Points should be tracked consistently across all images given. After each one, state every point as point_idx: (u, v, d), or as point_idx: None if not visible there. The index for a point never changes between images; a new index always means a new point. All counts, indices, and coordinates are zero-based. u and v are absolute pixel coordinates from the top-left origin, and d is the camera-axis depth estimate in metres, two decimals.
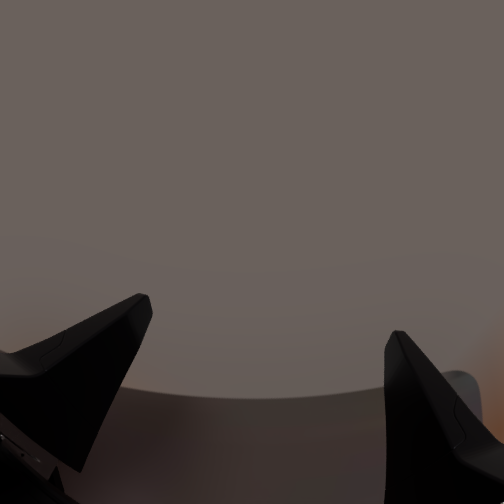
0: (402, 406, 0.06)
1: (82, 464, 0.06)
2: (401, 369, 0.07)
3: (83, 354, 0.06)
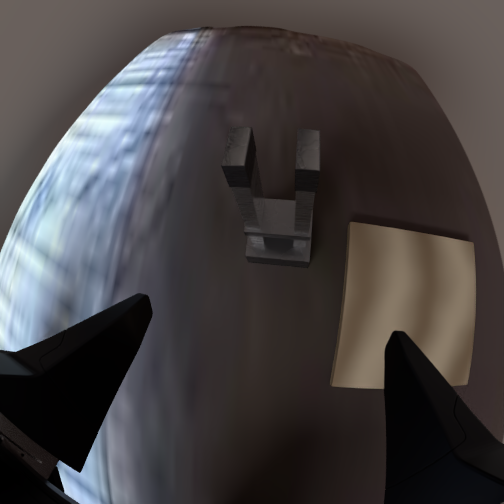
0: (402, 406, 0.06)
1: (82, 464, 0.06)
2: (401, 369, 0.07)
3: (83, 354, 0.06)
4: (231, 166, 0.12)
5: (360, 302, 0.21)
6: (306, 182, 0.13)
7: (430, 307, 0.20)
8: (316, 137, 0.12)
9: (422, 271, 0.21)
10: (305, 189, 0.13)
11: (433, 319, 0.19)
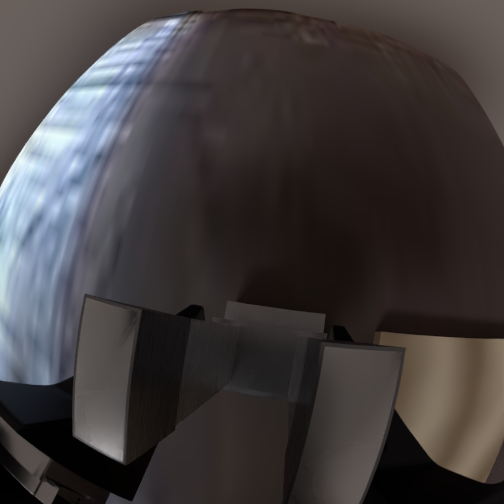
0: None
1: (134, 492, 0.05)
2: None
3: None
4: (96, 447, 0.03)
5: None
6: None
7: (461, 435, 0.10)
8: (386, 386, 0.03)
9: (463, 393, 0.11)
10: None
11: (460, 448, 0.10)
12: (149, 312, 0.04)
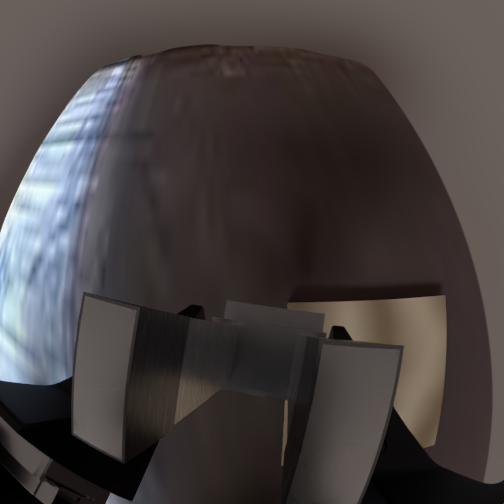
0: None
1: (134, 492, 0.05)
2: None
3: None
4: (95, 445, 0.03)
5: None
6: None
7: None
8: (384, 384, 0.03)
9: None
10: None
11: None
12: (148, 310, 0.04)
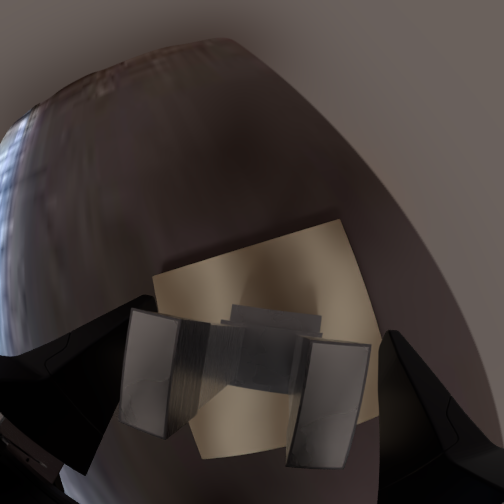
0: (395, 406, 0.06)
1: (87, 467, 0.06)
2: (394, 369, 0.07)
3: (89, 357, 0.06)
4: (139, 428, 0.04)
5: None
6: None
7: None
8: (358, 371, 0.04)
9: (261, 299, 0.18)
10: None
11: None
12: (185, 320, 0.05)
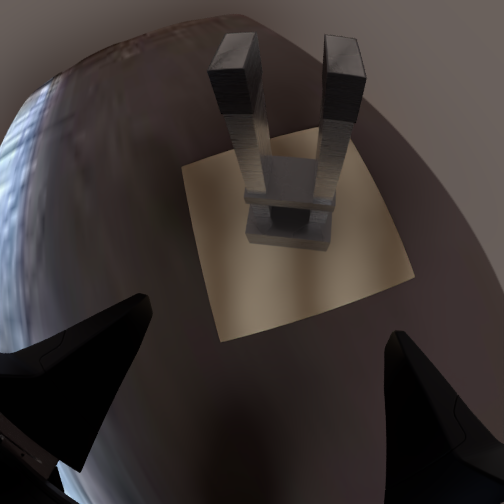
0: (402, 406, 0.06)
1: (82, 464, 0.06)
2: (401, 369, 0.07)
3: (83, 354, 0.06)
4: (223, 71, 0.07)
5: (214, 237, 0.19)
6: (342, 101, 0.07)
7: None
8: (353, 44, 0.06)
9: None
10: (339, 116, 0.08)
11: None
12: None
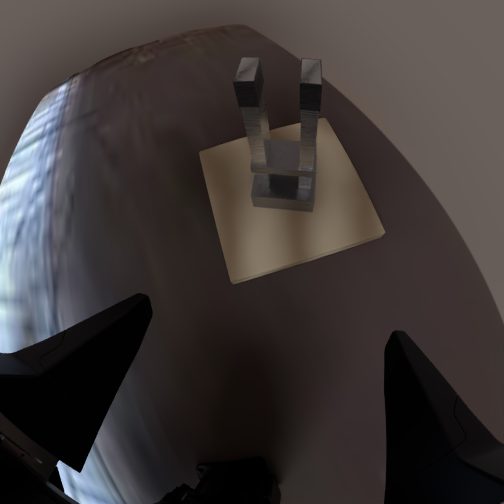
0: (402, 406, 0.06)
1: (82, 464, 0.06)
2: (401, 369, 0.07)
3: (83, 354, 0.06)
4: (242, 82, 0.12)
5: (226, 203, 0.25)
6: (310, 98, 0.12)
7: None
8: (318, 64, 0.12)
9: None
10: (309, 107, 0.13)
11: None
12: (260, 60, 0.13)
